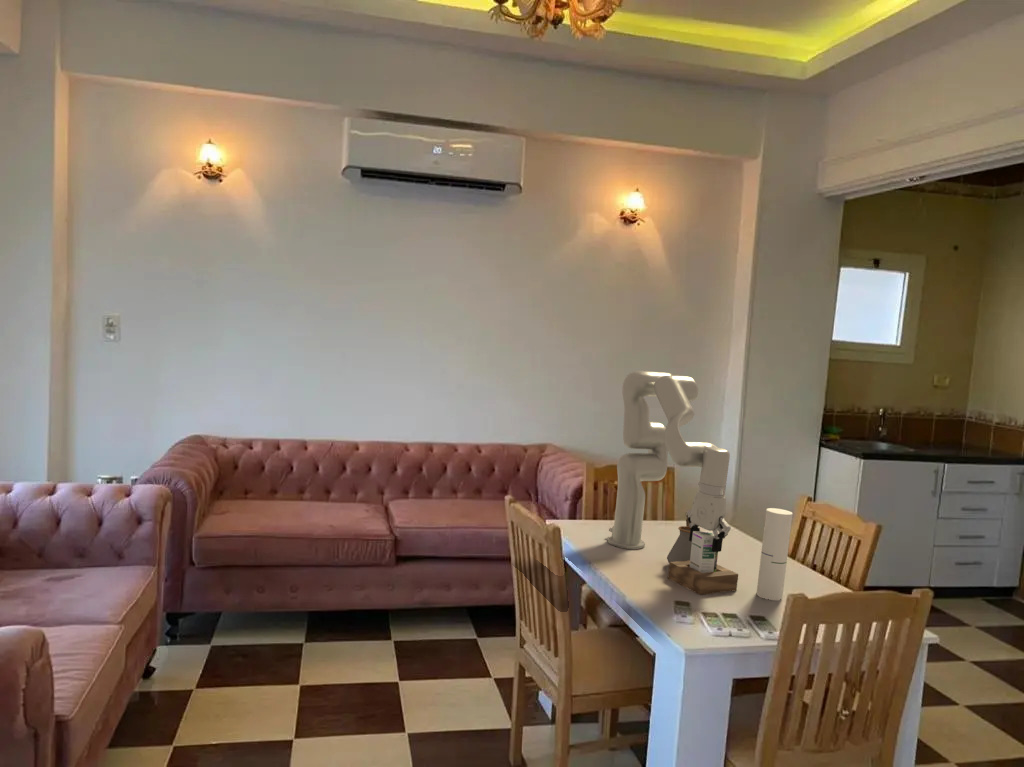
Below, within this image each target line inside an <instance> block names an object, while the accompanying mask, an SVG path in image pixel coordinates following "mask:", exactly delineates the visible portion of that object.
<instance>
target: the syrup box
mask: <svg viewBox="0 0 1024 767" xmlns="http://www.w3.org/2000/svg"><path fill="white" fill-rule="evenodd" d="M713 538H715V536H714V533H713V531H709V530H705V531H704V530H702V531H701V530H700V531H693V536H692V546H691V557H690V567H691V568H693V569H695V570H697V571H699V572H701V573H709V572H716V567H717V565H718V558H719V557H718V556H719V555H718V554H719V552H712V544H713Z"/></svg>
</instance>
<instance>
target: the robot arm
mask: <svg viewBox="0 0 1024 767" xmlns="http://www.w3.org/2000/svg"><path fill="white" fill-rule="evenodd" d="M621 388H622V400H623V406H624V408H623V409H624V410H623V412H624V413H623V426H622V427H623V430H622V433H623V434H622V437H623V438H622V440H623V444H624V445H625V447H627V448H628V449H634V450H647V452H646V453H645V452H628V453H625V454H622V455H620V457H619V458H618V461H617V463H616V470H617V471H616V472H617V494H616V502H615V503H616V504H615V513H614V523H613V526H612V527H609V528H608V532H610V533H611V536H609V537H608V538H607V542H608V543H609V544H610V545H611V546H614V547H617V548H621V549H626V550H627V549H628V550H639V549H644V548H645V546H646V542H644V540H642V533H643V532H642V531H643V525H644V524H643V523H644V512H645V505H646V504H645V503H646V492H645V489H644V487H643V485H642V482H656V481H661V480H663V479H664V478H665V476H666V474H667V471H668V460H669V456H670V458H671V459H672V461H673V463H675V464H676V466H679V467H682V468H701V470H700V477H699V478H700V479H699V482H698V490H696V493H695V495H694V498H693V501H692V505H691V506H692V507H691V509H688V510H687V511H686V516H687V515H688V521H689V523H690V524H689V527H690V528H691V529H690V537H689V541H692V536H693V531H701V528H702V529H704V530H706V531H711V532H713V533H714V536H715V538H713V544H712V552H718V553H719V552H722V548H723V540H724V539H725V538H726V537H727V536H728V534H729V532H730V531H731V529H732V528H731V526H730V524H729V523H728V522H727V521H726V514H727V513H726V512H727V509H726V508H727V504H726V503H727V502H726V488H727V481H728V473H729V466H730V460H731V459H730V457H731V455H730V454H731V453H730V451H729V450H727V449H725V448H722V447H718V446H716V445H715V444H713V443H710V442H705V441H704V442H703V441H700V442H699V441H685V440H684V438H683V436H682V434H681V431H680V428H682V427H684V426H685V425H687V424H688V423H690V422H691V421H692V420H693V418H694V416H695V410H694V408H693V406H692V404H691V402H693V401H695V399H696V398H697V397H698V394H699V387H698V384H697V382H696V381H695V379H694V378H693V377H691V376H687V375H682V374H677V373H672V372H664V371H652V370H635V371H632V372H629V373H628V374H627V375H626V376H625V378H624V380H623V383H622V387H621ZM645 397H650V398H657V399H658V403H659V404H660V407H661V408H662V410H663V413H664V415H665V417H666V419H667V424H666V426H665V425H664V423H661V422H658V421H650V406H649V404H648V402H647V400H646V399H645Z"/></svg>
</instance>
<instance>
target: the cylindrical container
mask: <svg viewBox="0 0 1024 767" xmlns="http://www.w3.org/2000/svg"><path fill="white" fill-rule="evenodd" d="M793 514H794V513H793V512H792V511H791V510H790V511H789V510H787V509H782V508H777V507H776V508H775V507H770V508H769V507H768V508H766V510H765V519H764V528H763V535H762V536H763V537H762V542H761V543H762V544H761V553H760V559H759V560H760V561H759V570H758V579H757V586H756V596H758V597H760V598H762V599H764V598H765V600H768V599H769V601H781V600H780V599H782V600H783V597H784V596H783V595H784V587H785V579H786V572H787V563H788V562H787V561H788V556H789V555H788V554H789V545H790V538H791V530H792V522H793V521H792V520H793Z"/></svg>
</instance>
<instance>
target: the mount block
mask: <svg viewBox="0 0 1024 767" xmlns="http://www.w3.org/2000/svg"><path fill="white" fill-rule="evenodd" d="M668 565H669V566H668V572H667V573H668V574H667V575H668V576H667V579H669V581H671V582H675V583H676V584H678V585H680V586H682V587H684V588H686V589H688V590H689V591H691V592H693V593H695V594H697V595H699V596H702V595H710V594H720V593H727V592H736V591H737V590H738V589H737V588H738V580H739V573H737V572H735V571H733V570H730V569H728V568H726V567H724V566H721V565H719V564H717V567H716V572H709V573H701V572H699V571H697V570H695V569H693V568H691V567H690V560H688V561H677V562H670V564H669V563H668Z"/></svg>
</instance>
